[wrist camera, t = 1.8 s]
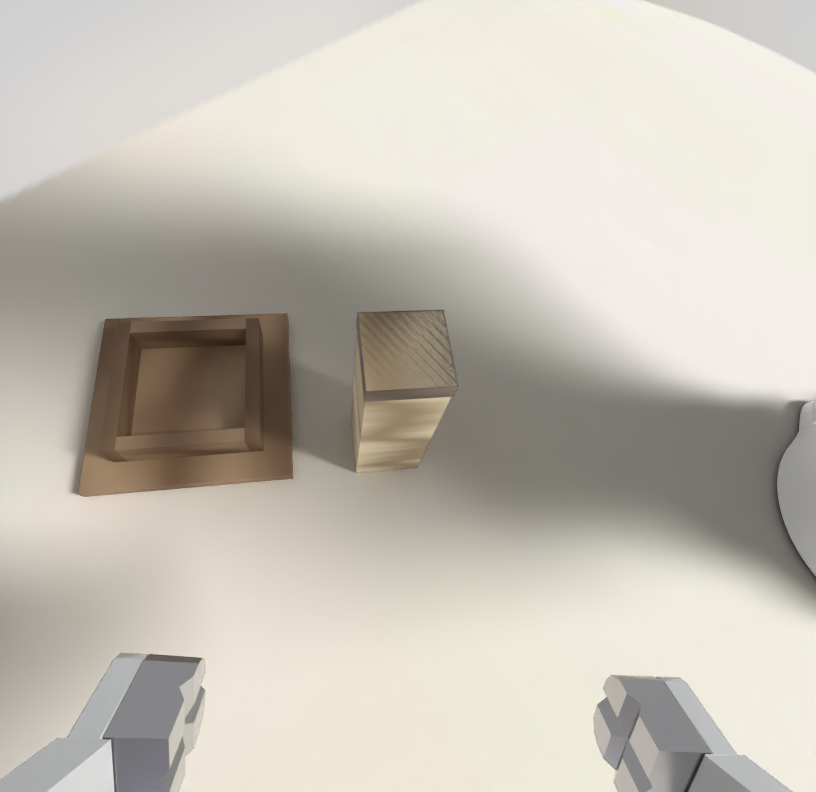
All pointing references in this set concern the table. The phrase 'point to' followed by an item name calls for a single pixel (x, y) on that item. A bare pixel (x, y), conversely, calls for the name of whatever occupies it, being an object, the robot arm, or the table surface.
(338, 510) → the table surface
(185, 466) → the dock
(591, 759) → the table surface
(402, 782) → the table surface
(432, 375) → the tall wooden pillar
